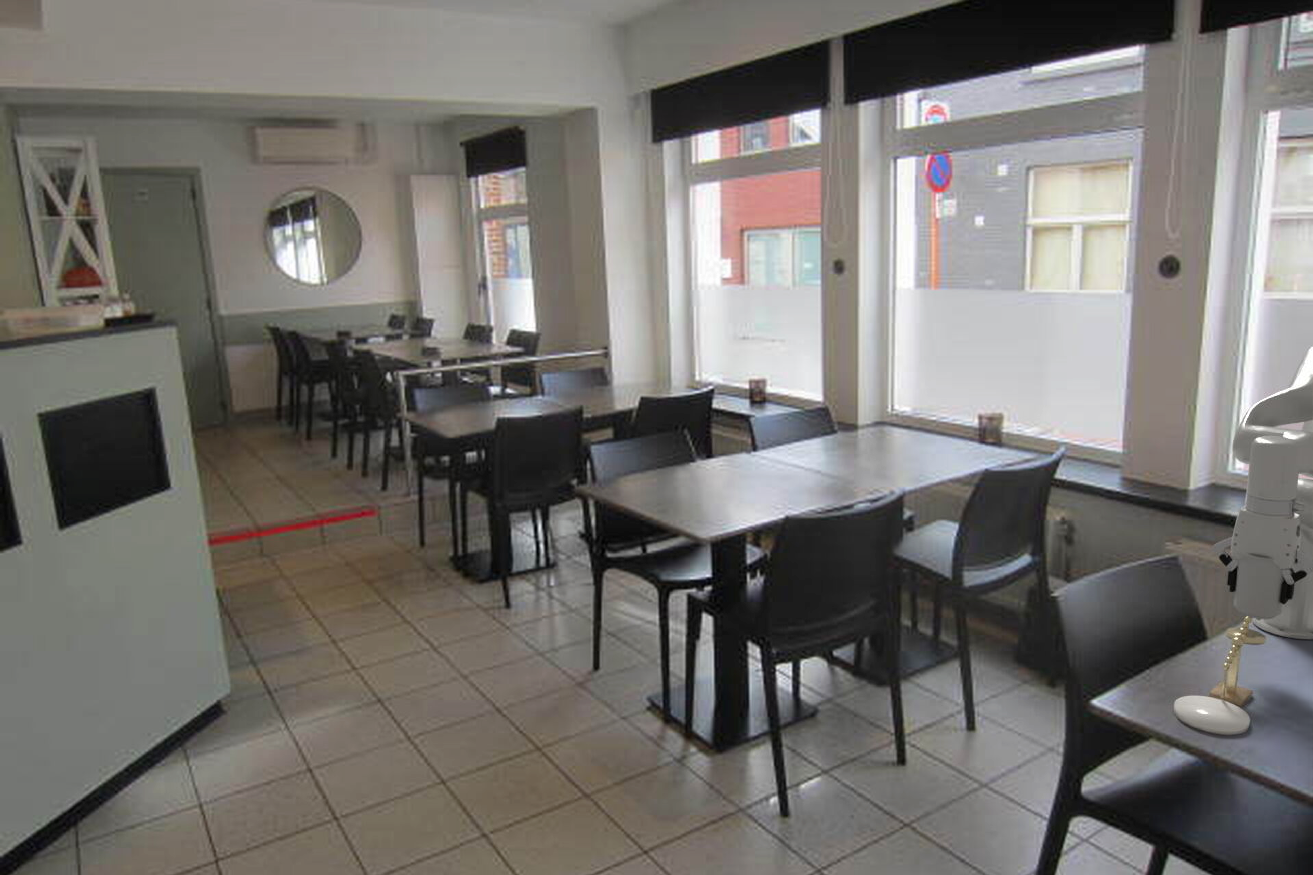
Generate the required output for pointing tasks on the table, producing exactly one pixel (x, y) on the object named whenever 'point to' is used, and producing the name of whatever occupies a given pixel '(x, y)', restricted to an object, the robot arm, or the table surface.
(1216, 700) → the white rounded disc
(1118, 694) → the table surface
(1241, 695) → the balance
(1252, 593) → the can
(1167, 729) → the table surface
